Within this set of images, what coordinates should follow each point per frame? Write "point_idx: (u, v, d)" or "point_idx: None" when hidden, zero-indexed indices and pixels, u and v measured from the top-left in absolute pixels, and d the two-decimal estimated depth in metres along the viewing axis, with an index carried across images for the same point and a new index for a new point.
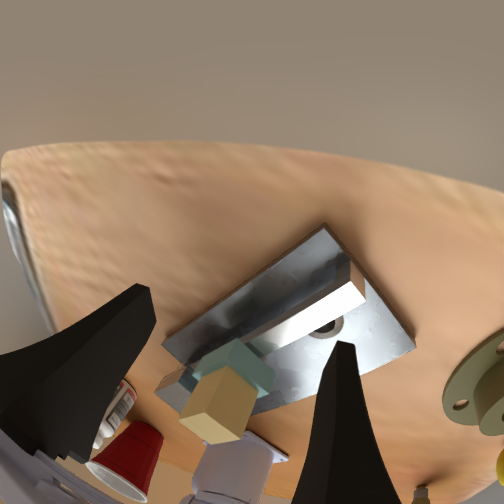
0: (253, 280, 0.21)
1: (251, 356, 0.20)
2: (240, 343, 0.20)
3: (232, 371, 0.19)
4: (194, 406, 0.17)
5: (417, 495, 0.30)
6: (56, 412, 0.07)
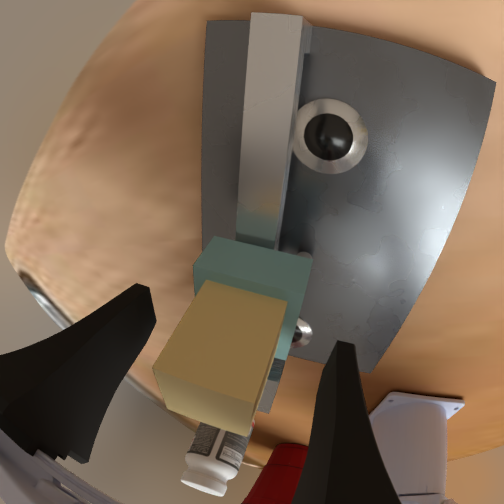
0: (203, 154, 0.14)
1: (250, 250, 0.12)
2: (223, 240, 0.12)
3: (217, 285, 0.11)
4: None
5: None
6: (56, 412, 0.07)
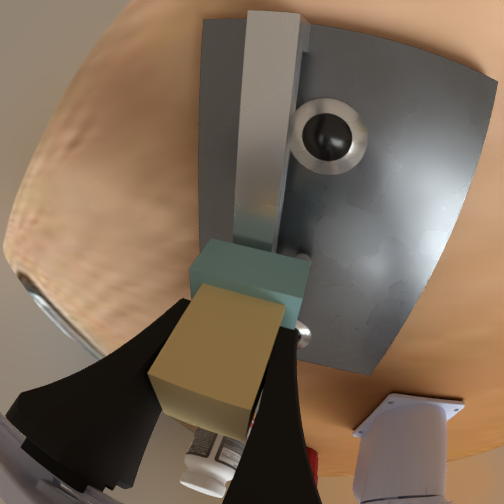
0: (199, 154, 0.13)
1: (247, 252, 0.12)
2: (220, 243, 0.12)
3: (214, 289, 0.11)
4: None
5: None
6: (109, 445, 0.06)
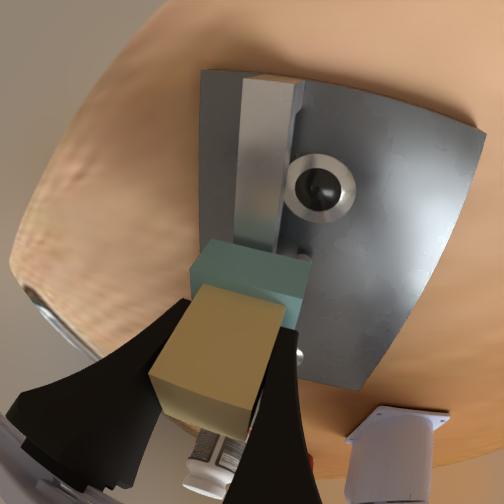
0: (200, 199, 0.15)
1: (247, 253, 0.12)
2: (220, 243, 0.12)
3: (214, 289, 0.11)
4: None
5: None
6: (109, 445, 0.06)
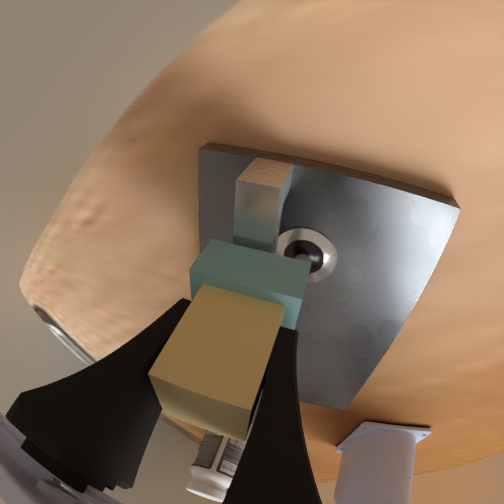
0: None
1: (247, 253, 0.12)
2: (220, 243, 0.12)
3: (214, 290, 0.11)
4: None
5: None
6: (109, 445, 0.06)
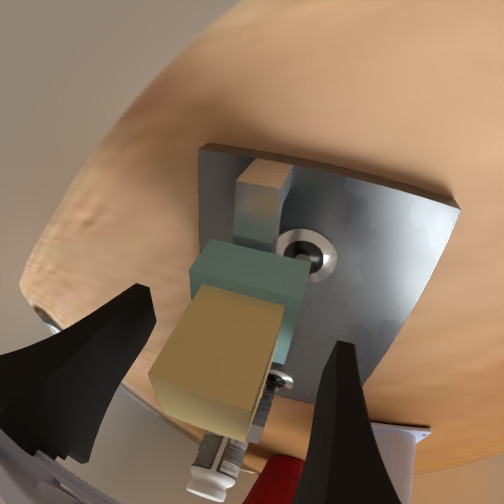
0: None
1: (247, 253, 0.12)
2: (220, 243, 0.12)
3: (214, 290, 0.11)
4: None
5: None
6: (56, 412, 0.07)
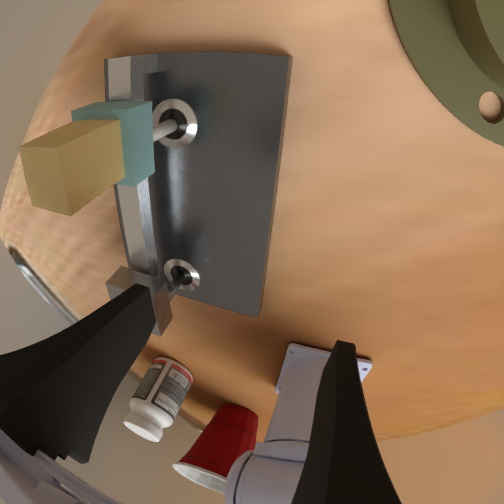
0: None
1: (112, 102, 0.14)
2: (99, 102, 0.14)
3: (82, 120, 0.13)
4: None
5: None
6: (56, 412, 0.07)
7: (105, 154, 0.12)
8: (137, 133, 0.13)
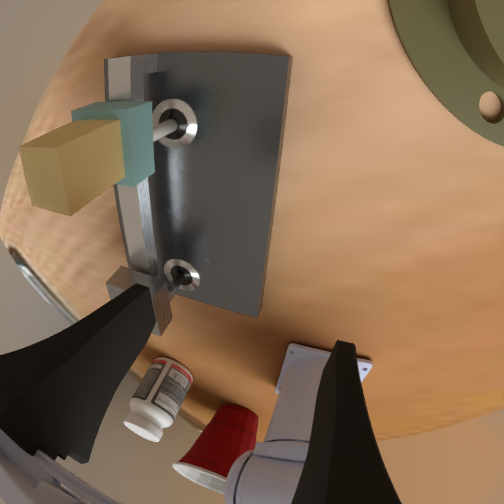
0: None
1: (112, 102, 0.14)
2: (99, 102, 0.14)
3: (82, 120, 0.13)
4: None
5: None
6: (56, 412, 0.07)
7: (105, 154, 0.12)
8: (137, 133, 0.13)
